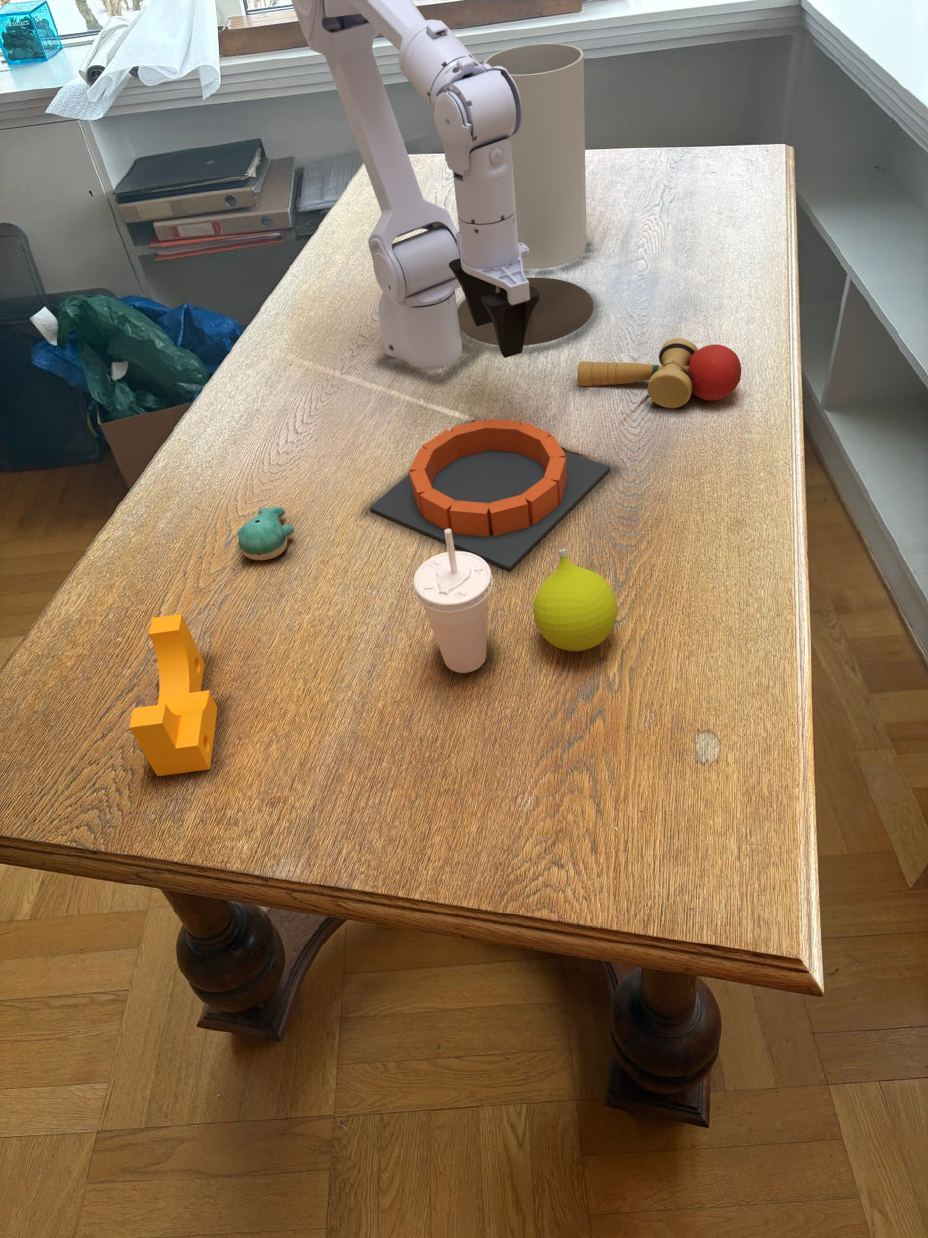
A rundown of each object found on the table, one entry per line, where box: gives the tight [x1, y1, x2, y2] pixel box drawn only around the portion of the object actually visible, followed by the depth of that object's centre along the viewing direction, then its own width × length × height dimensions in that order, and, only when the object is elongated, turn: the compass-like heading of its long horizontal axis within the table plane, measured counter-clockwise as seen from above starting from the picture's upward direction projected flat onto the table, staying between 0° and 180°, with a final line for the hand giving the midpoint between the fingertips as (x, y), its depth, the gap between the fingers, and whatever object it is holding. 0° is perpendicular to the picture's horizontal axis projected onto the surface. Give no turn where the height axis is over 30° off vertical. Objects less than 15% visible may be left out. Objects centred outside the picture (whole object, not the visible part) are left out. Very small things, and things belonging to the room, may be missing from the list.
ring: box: [409, 418, 567, 537], centre depth 98 cm, size 16×16×3 cm
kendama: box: [577, 337, 742, 409], centre depth 107 cm, size 8×6×18 cm
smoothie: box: [413, 529, 494, 674], centre depth 78 cm, size 6×6×14 cm
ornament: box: [532, 536, 618, 652], centre depth 80 cm, size 7×7×10 cm
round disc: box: [457, 277, 595, 347], centre depth 123 cm, size 18×18×4 cm
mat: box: [369, 419, 611, 572], centre depth 99 cm, size 18×18×1 cm
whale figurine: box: [237, 506, 295, 561], centre depth 96 cm, size 6×7×4 cm
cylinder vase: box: [482, 42, 588, 269], centre depth 127 cm, size 12×12×25 cm
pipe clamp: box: [128, 613, 218, 777], centre depth 79 cm, size 12×4×6 cm, turn 5°
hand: (497, 338), depth 102 cm, fingers open, 7 cm apart
